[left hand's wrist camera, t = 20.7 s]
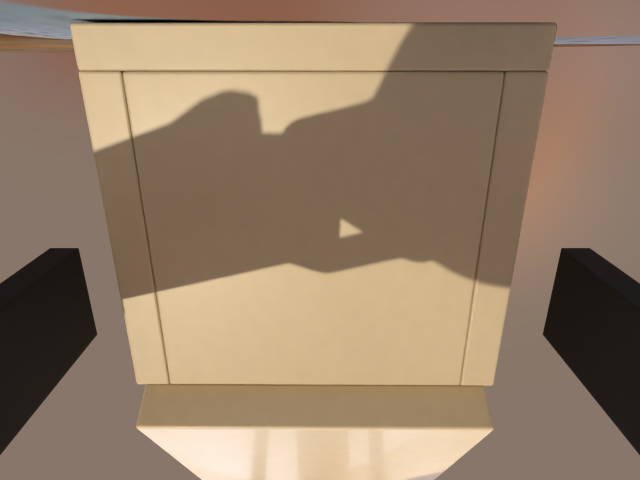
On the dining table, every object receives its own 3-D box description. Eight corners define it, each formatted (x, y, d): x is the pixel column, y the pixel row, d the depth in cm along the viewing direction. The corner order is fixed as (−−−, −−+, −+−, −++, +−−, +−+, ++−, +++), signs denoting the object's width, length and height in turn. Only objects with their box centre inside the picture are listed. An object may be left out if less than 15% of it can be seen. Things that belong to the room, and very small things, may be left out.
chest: (408, 44, 24) (397, 200, 28) (230, 44, 24) (241, 200, 28) (559, 22, 9) (493, 386, 12) (67, 22, 9) (136, 384, 12)
